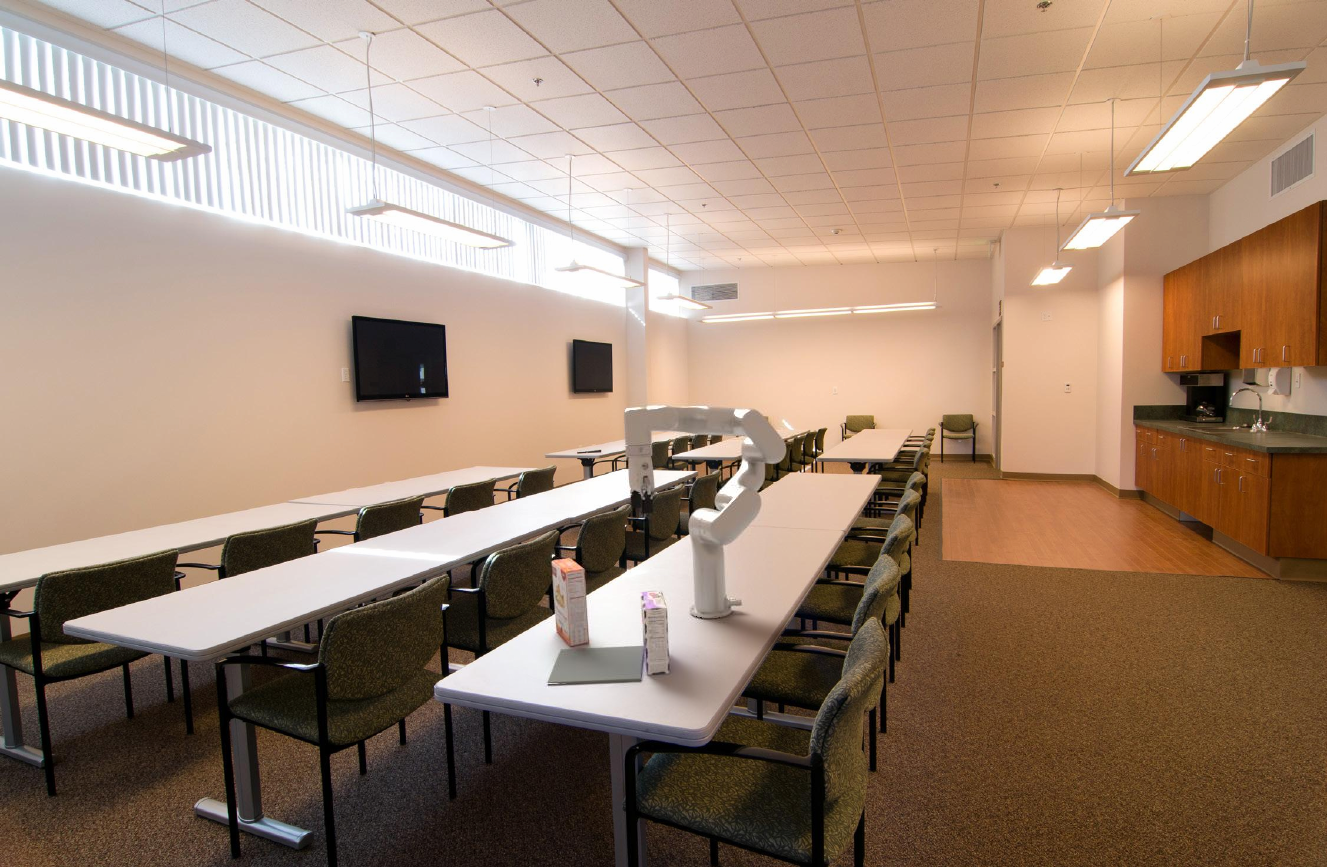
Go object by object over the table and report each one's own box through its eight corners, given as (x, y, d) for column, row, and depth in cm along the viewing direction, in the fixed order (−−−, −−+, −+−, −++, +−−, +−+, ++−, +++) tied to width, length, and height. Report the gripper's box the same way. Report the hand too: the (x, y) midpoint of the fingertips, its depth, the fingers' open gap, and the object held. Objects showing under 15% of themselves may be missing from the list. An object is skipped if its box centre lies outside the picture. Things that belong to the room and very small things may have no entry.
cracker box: (554, 631, 193) (550, 560, 191) (574, 627, 195) (571, 557, 194) (568, 648, 180) (564, 571, 179) (589, 643, 182) (585, 568, 181)
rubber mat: (643, 648, 177) (643, 645, 177) (640, 681, 158) (640, 678, 157) (560, 651, 178) (560, 649, 178) (547, 685, 158) (547, 682, 158)
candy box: (643, 653, 174) (640, 591, 173) (665, 651, 175) (662, 589, 173) (646, 675, 160) (642, 608, 159) (670, 673, 161) (667, 606, 160)
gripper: (661, 452, 183) (664, 514, 184) (642, 447, 199) (644, 504, 201) (635, 454, 181) (638, 517, 182) (617, 449, 197) (620, 507, 198)
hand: (641, 510), depth 191 cm, fingers open, 9 cm apart
